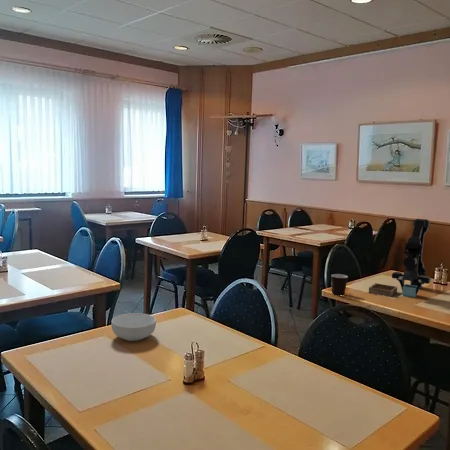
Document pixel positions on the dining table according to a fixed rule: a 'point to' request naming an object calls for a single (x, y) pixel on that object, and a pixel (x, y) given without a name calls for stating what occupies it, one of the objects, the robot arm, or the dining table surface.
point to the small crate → (409, 290)
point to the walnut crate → (383, 289)
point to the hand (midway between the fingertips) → (409, 293)
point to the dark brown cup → (338, 284)
